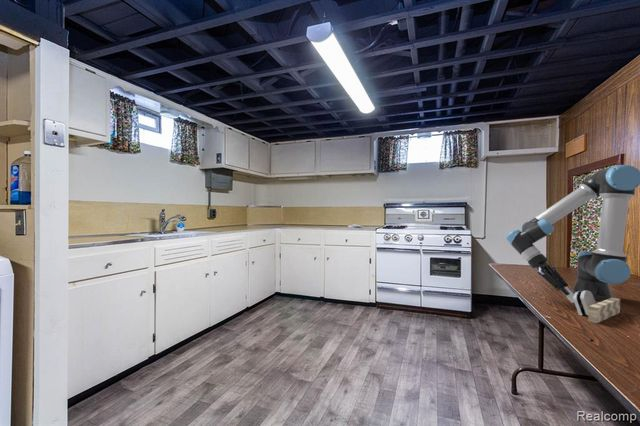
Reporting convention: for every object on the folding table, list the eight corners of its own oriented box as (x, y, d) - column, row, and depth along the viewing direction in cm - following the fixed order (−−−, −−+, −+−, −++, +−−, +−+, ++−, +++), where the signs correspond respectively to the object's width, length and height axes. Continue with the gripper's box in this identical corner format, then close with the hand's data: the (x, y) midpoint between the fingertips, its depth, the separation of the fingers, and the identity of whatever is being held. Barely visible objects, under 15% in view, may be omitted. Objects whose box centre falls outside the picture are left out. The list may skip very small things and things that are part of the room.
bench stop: (611, 311, 130) (612, 297, 130) (619, 312, 128) (620, 298, 128) (588, 321, 117) (588, 306, 117) (596, 323, 115) (597, 308, 115)
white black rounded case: (594, 318, 120) (584, 293, 123) (580, 319, 124) (570, 294, 126) (602, 310, 131) (593, 287, 133) (589, 311, 134) (580, 288, 137)
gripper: (534, 261, 151) (574, 303, 137) (521, 263, 145) (561, 307, 131) (547, 252, 147) (589, 294, 133) (534, 253, 140) (577, 298, 126)
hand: (575, 301), depth 132 cm, fingers closed
